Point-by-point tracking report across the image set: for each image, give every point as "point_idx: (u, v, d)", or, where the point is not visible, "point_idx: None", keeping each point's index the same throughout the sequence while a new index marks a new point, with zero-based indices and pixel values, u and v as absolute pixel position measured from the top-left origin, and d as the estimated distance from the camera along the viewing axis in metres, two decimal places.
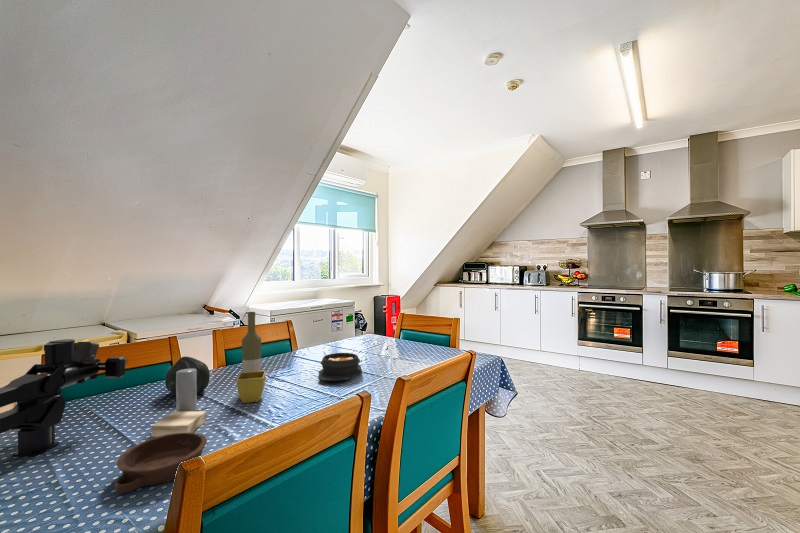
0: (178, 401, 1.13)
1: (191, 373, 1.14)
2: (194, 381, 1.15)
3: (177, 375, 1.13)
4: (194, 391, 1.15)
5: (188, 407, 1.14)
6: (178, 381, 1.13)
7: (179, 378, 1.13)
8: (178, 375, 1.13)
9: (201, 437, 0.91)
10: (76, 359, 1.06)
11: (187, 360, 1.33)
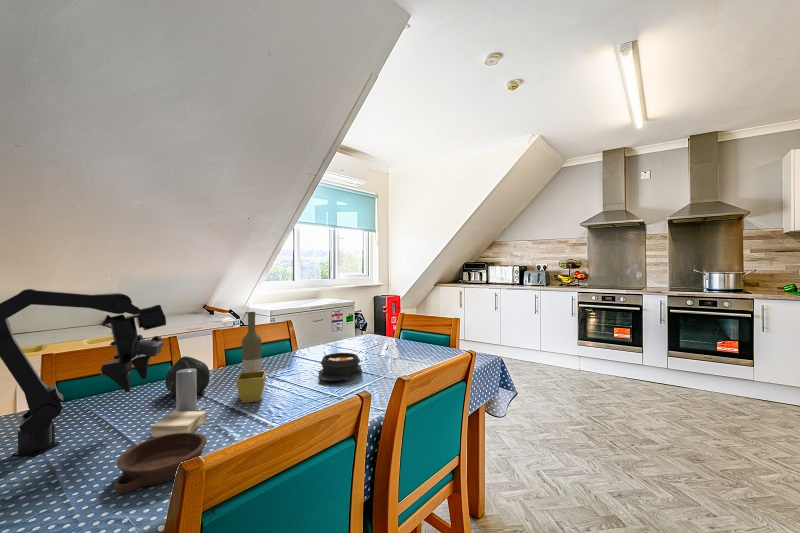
0: (178, 401, 1.13)
1: (191, 373, 1.14)
2: (194, 381, 1.15)
3: (177, 375, 1.13)
4: (194, 391, 1.15)
5: (188, 407, 1.14)
6: (178, 381, 1.13)
7: (179, 378, 1.13)
8: (178, 375, 1.13)
9: (201, 437, 0.91)
10: (142, 340, 1.08)
11: (187, 360, 1.33)
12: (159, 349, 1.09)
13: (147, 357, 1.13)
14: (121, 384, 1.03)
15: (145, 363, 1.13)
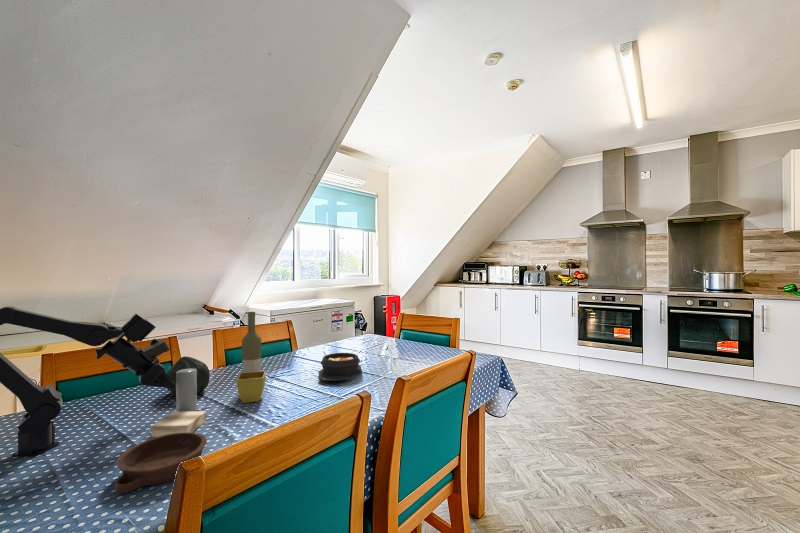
0: (178, 401, 1.13)
1: (191, 373, 1.14)
2: (194, 381, 1.15)
3: (177, 375, 1.13)
4: (194, 391, 1.15)
5: (188, 407, 1.14)
6: (178, 381, 1.13)
7: (179, 378, 1.13)
8: (178, 375, 1.13)
9: (201, 437, 0.91)
10: (145, 349, 1.09)
11: (187, 360, 1.33)
12: None
13: None
14: (165, 384, 1.07)
15: None
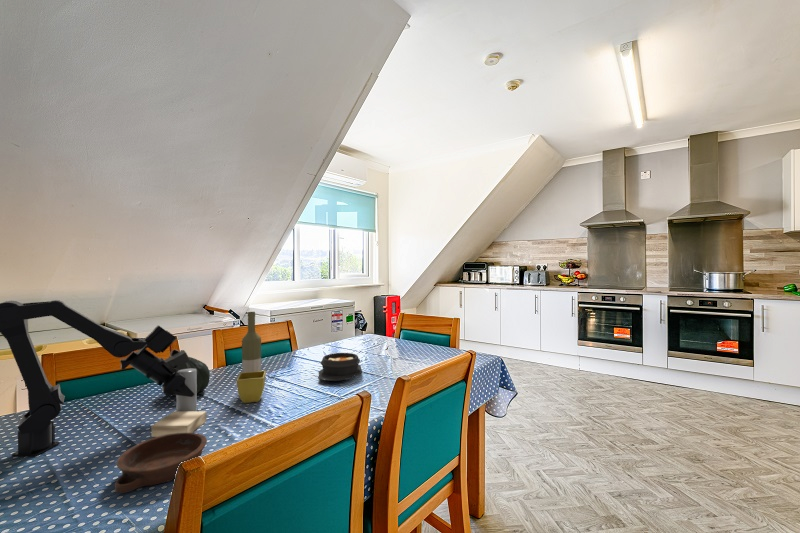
0: (178, 401, 1.13)
1: (191, 373, 1.14)
2: (194, 381, 1.15)
3: None
4: (194, 391, 1.15)
5: (188, 407, 1.14)
6: None
7: None
8: None
9: (201, 437, 0.91)
10: (167, 359, 1.13)
11: None
12: None
13: None
14: (184, 393, 1.12)
15: None
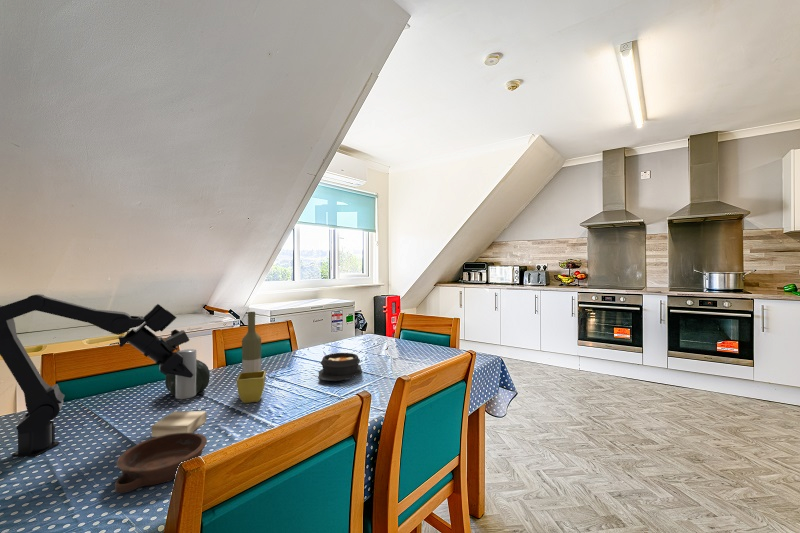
0: (177, 381, 1.11)
1: (190, 353, 1.12)
2: (193, 362, 1.13)
3: None
4: (193, 372, 1.13)
5: (187, 388, 1.12)
6: None
7: None
8: None
9: (201, 437, 0.91)
10: (166, 339, 1.11)
11: None
12: None
13: None
14: (183, 373, 1.10)
15: None
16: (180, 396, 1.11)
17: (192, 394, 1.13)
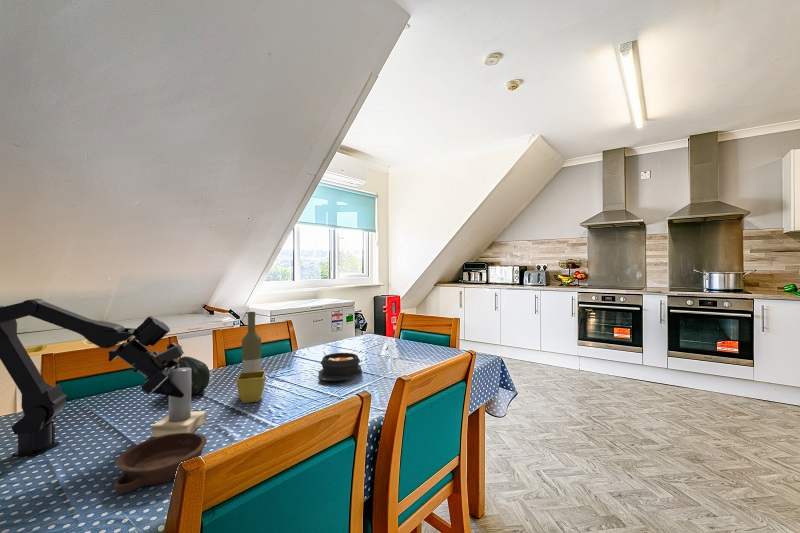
0: (169, 402, 1.04)
1: (182, 373, 1.04)
2: (186, 382, 1.05)
3: (169, 374, 1.04)
4: (186, 393, 1.05)
5: (178, 411, 1.03)
6: None
7: None
8: (169, 374, 1.04)
9: (201, 437, 0.91)
10: (159, 353, 1.04)
11: (187, 360, 1.33)
12: (181, 350, 1.06)
13: (175, 368, 1.09)
14: (172, 393, 1.01)
15: None
16: (171, 419, 1.03)
17: (184, 417, 1.04)
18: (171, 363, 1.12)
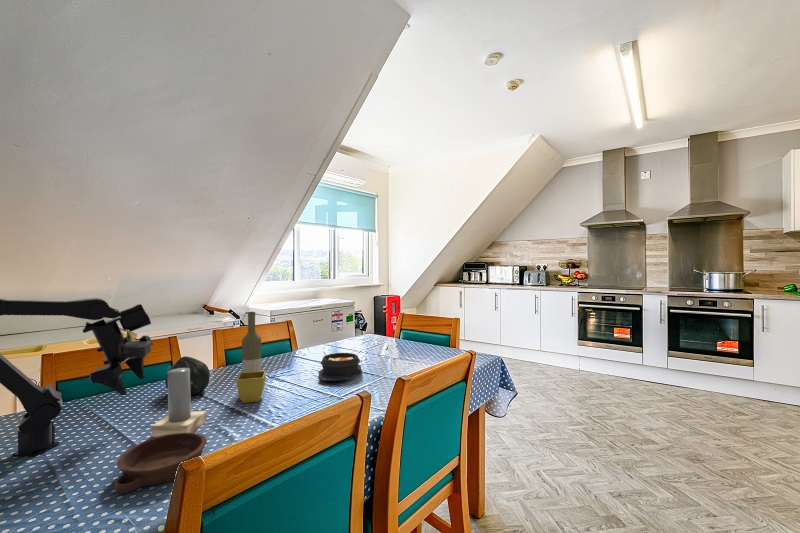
0: (168, 403, 1.03)
1: (180, 374, 1.03)
2: (185, 383, 1.04)
3: None
4: (185, 394, 1.04)
5: (177, 411, 1.03)
6: (168, 381, 1.03)
7: (168, 378, 1.03)
8: (168, 375, 1.03)
9: (201, 437, 0.91)
10: (129, 343, 1.05)
11: (187, 360, 1.33)
12: (148, 349, 1.06)
13: (140, 357, 1.11)
14: (116, 388, 1.01)
15: (140, 363, 1.11)
16: (171, 419, 1.03)
17: (184, 418, 1.04)
18: None
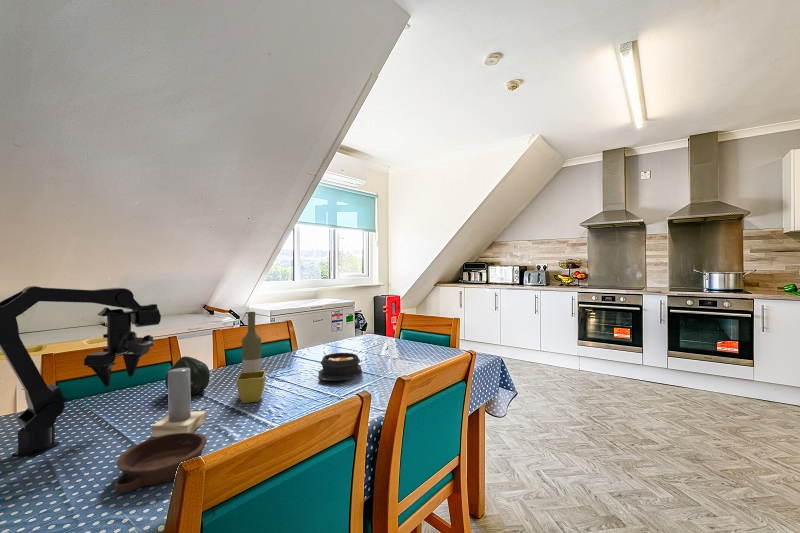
0: (168, 403, 1.04)
1: (181, 373, 1.04)
2: (185, 382, 1.05)
3: (168, 374, 1.04)
4: (185, 393, 1.04)
5: (177, 411, 1.03)
6: (168, 381, 1.04)
7: (169, 378, 1.03)
8: (168, 374, 1.04)
9: (201, 437, 0.90)
10: (133, 337, 1.09)
11: (187, 360, 1.33)
12: (146, 349, 1.09)
13: (138, 355, 1.14)
14: (102, 377, 1.03)
15: (135, 360, 1.14)
16: (171, 419, 1.03)
17: (184, 417, 1.04)
18: None
